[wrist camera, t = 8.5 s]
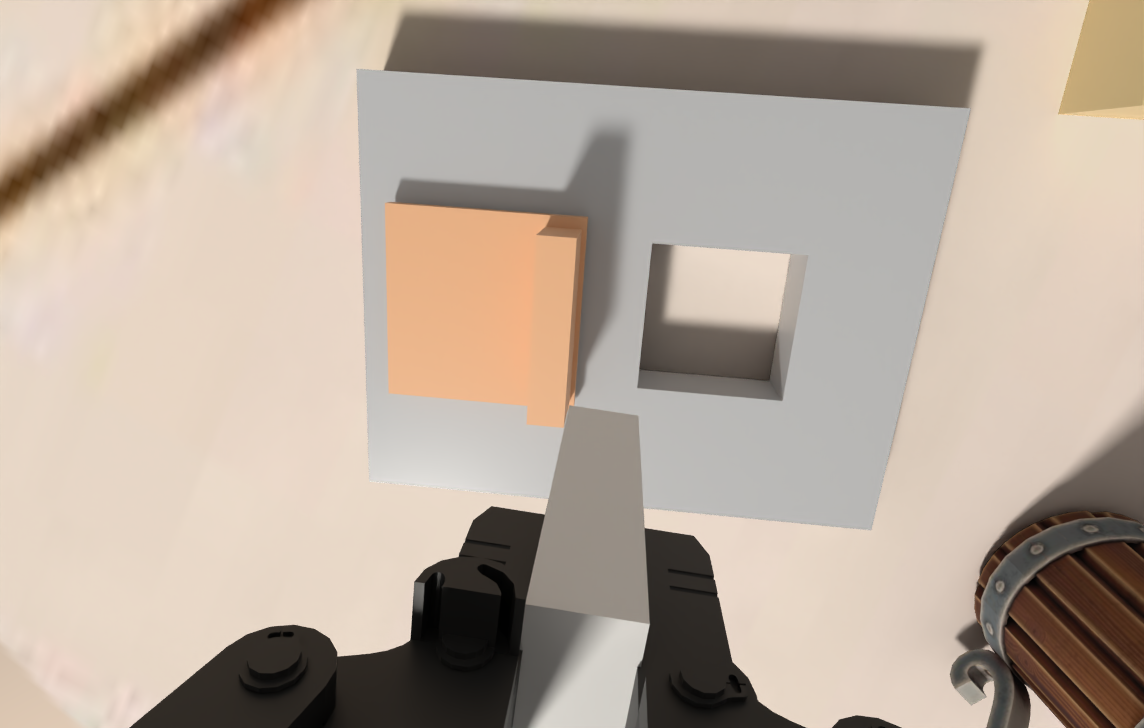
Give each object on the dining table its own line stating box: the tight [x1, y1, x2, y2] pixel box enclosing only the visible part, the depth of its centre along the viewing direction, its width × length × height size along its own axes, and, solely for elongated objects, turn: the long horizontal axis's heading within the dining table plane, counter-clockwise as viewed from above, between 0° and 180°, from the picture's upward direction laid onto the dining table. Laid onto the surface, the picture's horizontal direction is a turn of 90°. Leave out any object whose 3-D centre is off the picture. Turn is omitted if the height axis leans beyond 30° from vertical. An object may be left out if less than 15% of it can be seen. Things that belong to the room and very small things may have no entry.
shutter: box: [385, 202, 588, 428], centre depth 29 cm, size 9×9×4 cm
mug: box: [950, 511, 1144, 728], centre depth 30 cm, size 16×11×15 cm
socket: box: [357, 69, 971, 530], centre depth 32 cm, size 20×26×3 cm
